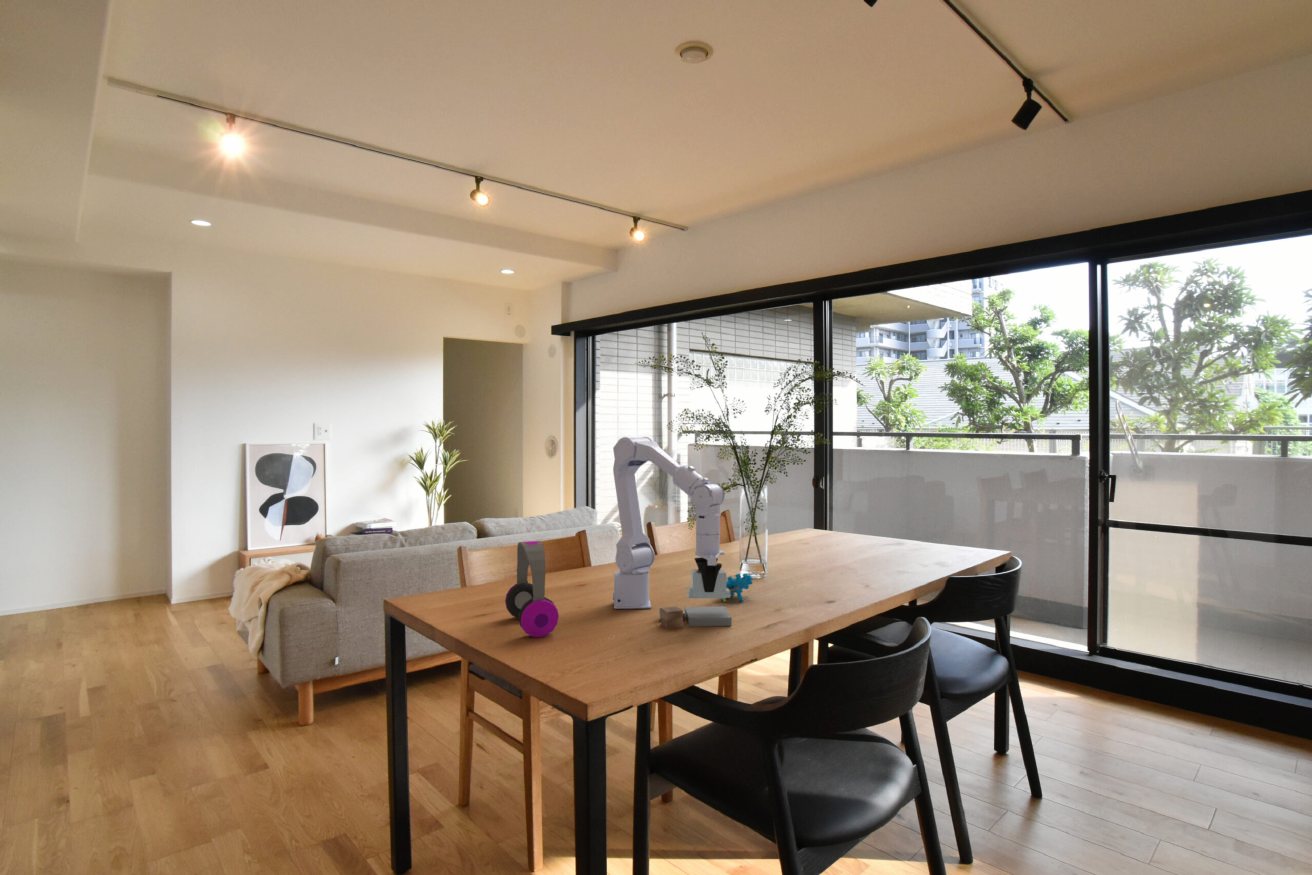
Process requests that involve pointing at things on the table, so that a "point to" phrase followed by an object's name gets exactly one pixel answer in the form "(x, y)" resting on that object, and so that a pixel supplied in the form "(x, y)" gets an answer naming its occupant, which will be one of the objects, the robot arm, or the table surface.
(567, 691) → the table surface
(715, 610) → the stand
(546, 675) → the table surface
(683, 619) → the bolt
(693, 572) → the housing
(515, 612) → the headphones
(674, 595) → the table surface
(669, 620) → the walnut block
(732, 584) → the blue bumpy figure
